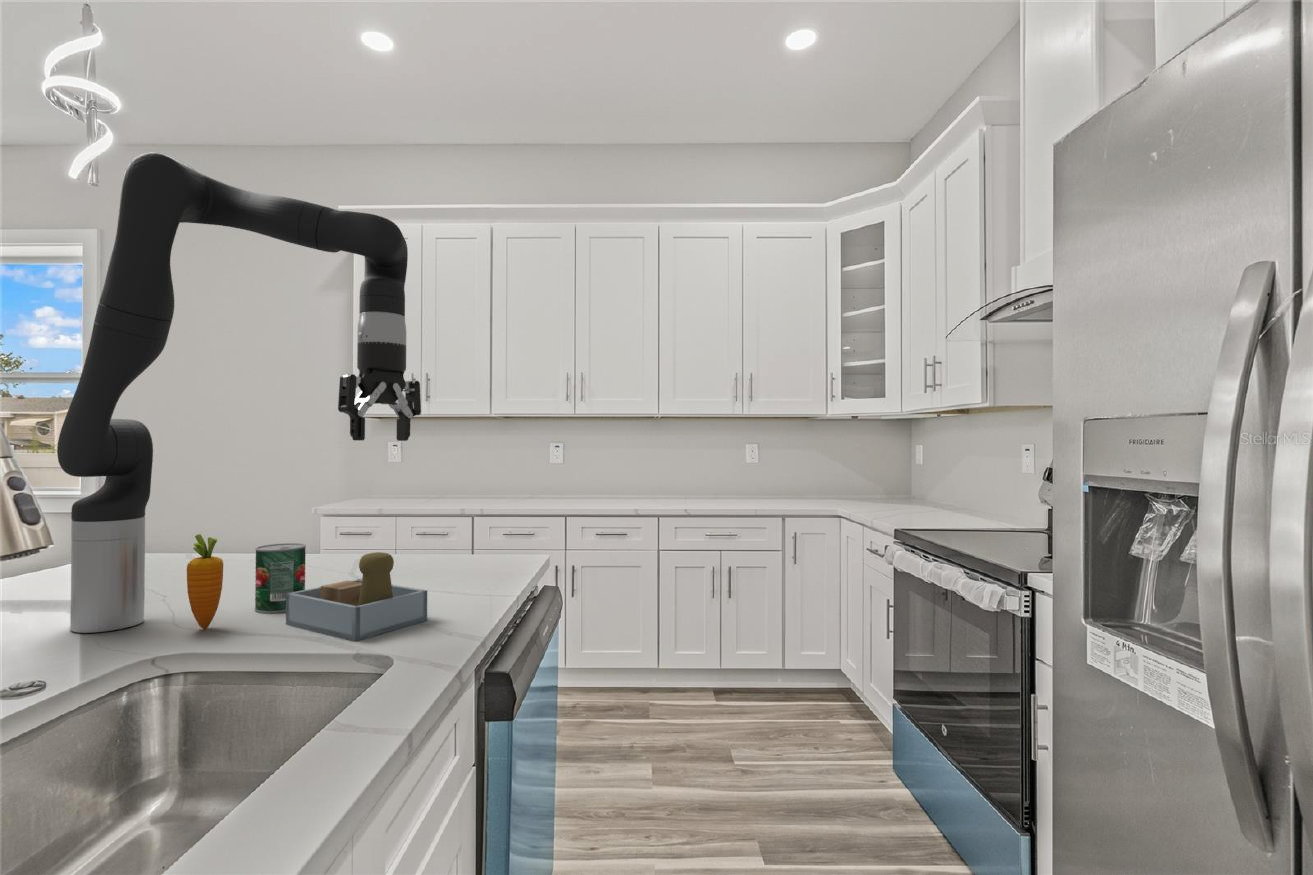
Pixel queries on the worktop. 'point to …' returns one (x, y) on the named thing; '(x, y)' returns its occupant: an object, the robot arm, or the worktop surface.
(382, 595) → the cork
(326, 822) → the worktop surface
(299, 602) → the tote
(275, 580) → the canned tomato
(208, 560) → the carrot
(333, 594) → the walnut cube
